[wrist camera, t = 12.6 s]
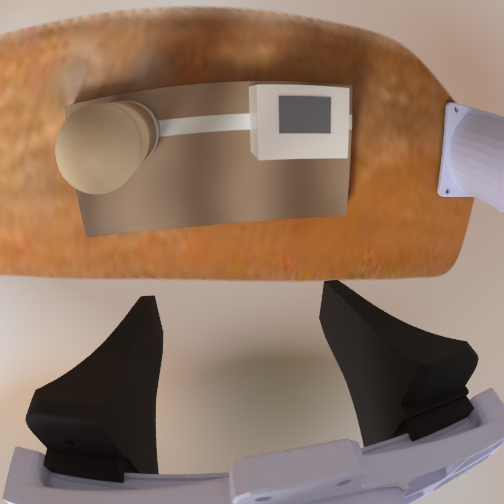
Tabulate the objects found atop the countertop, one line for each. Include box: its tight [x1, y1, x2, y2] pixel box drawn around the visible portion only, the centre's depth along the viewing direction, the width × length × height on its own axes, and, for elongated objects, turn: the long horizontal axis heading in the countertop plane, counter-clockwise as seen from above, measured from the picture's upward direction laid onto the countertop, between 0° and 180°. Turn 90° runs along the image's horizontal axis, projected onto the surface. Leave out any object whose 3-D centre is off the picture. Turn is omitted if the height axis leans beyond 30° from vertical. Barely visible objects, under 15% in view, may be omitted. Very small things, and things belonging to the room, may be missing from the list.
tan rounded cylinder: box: [55, 100, 160, 194], centre depth 14 cm, size 4×4×6 cm
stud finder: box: [249, 84, 349, 160], centre depth 17 cm, size 5×4×3 cm
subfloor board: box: [65, 81, 352, 237], centre depth 19 cm, size 18×9×1 cm, turn 92°
